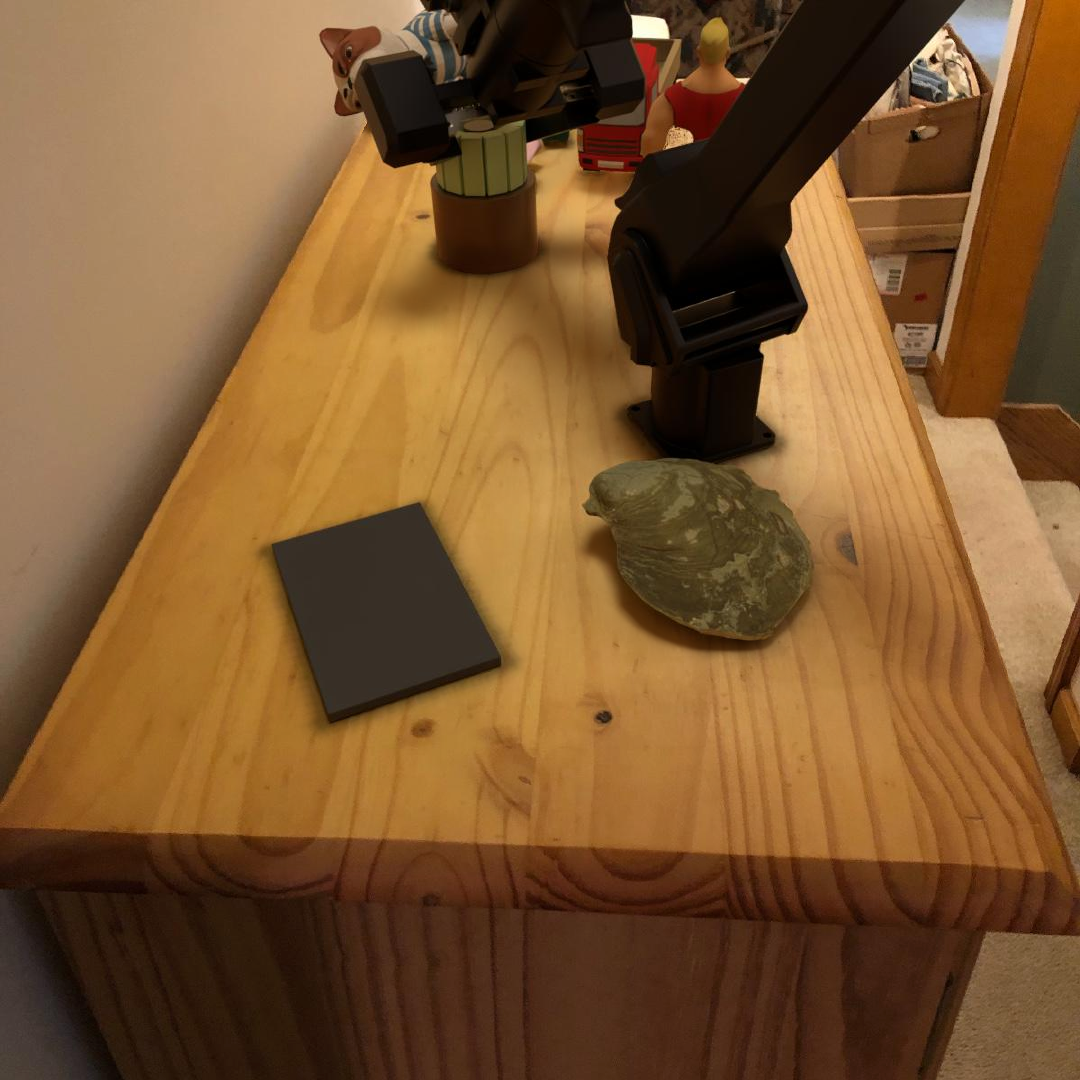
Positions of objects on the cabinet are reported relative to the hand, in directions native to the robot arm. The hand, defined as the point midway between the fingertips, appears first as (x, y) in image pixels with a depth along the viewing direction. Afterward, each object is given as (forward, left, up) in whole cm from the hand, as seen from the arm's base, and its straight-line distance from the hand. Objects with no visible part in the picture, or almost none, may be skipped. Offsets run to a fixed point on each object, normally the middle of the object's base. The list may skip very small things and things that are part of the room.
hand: (472, 149), depth 73 cm
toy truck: (+12, -19, -7) cm, 23 cm away
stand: (-1, 0, -7) cm, 7 cm away
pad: (-34, +18, -7) cm, 39 cm away
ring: (-1, 0, -2) cm, 2 cm away
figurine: (+27, -12, -2) cm, 30 cm away
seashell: (-38, +3, -7) cm, 39 cm away
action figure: (-5, -16, -7) cm, 19 cm away
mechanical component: (+23, -14, -5) cm, 27 cm away
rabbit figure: (+13, -8, -7) cm, 17 cm away
